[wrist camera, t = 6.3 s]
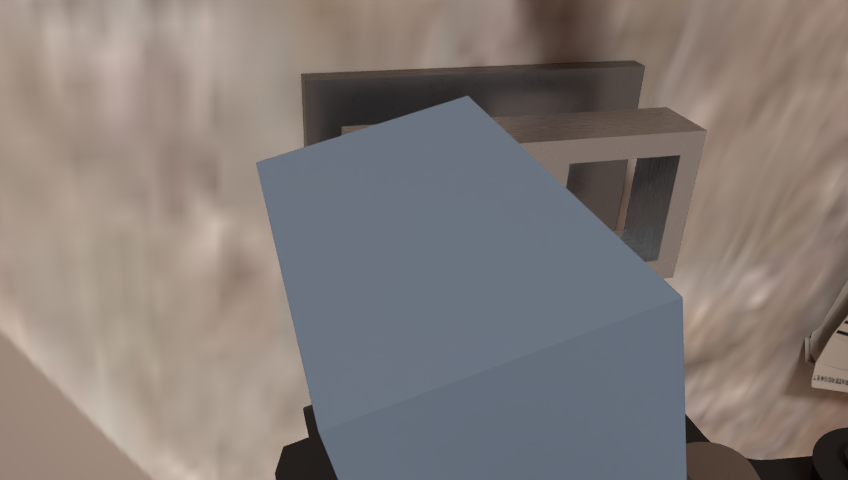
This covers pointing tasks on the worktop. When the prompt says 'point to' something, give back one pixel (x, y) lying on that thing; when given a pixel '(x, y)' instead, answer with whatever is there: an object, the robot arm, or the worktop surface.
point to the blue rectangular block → (471, 311)
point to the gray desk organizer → (547, 133)
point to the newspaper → (830, 347)
